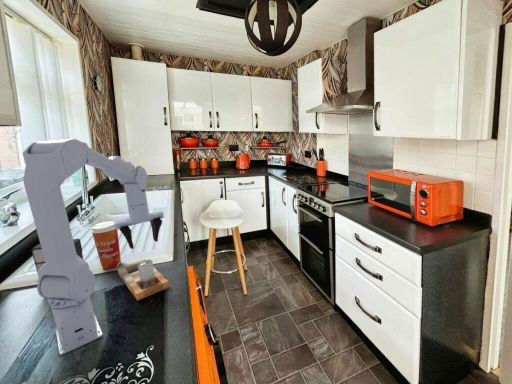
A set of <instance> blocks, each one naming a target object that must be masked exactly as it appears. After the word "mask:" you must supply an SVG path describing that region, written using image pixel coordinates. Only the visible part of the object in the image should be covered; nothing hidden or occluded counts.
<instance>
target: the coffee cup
mask: <svg viewBox="0 0 512 384" xmlns="http://www.w3.org/2000/svg"><path fill="white" fill-rule="evenodd" d="M114 222H115V221H110V220H109V221H103V222H98V223H96V224H94V225H93V226H92V227H91V230H90V233H91V234H92V237H93V242H94V244H95V247H96V251H97V255H98V258H99V262H100V266H101V268H102V267H103V268H104V269H103V268H102V269H103V270H110V269H114V268H117V267H118V266H117V265H118V264H119V263H120V262H121V260H122V259H121V251H120V250H121V249H120V240H119V233H118V231H119V230H117V229H115V225H114ZM121 263H122V262H121ZM116 266H117V267H116Z"/></svg>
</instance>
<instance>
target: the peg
mask: <svg viewBox="0 0 512 384" xmlns="http://www.w3.org/2000/svg"><path fill="white" fill-rule="evenodd" d="M143 260H144V259H143ZM140 261H141V260H140ZM153 267H154V261H153V260H151V259H146V260H144V261H141V262H139V263H138V269H137V271H139V276H140V282H141V287H140V288H141V289H144V288H146V287H149V286H151V285H154V284H156V281H155V275H154V268H155V267H154V268H153Z"/></svg>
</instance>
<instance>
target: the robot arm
mask: <svg viewBox="0 0 512 384" xmlns="http://www.w3.org/2000/svg"><path fill="white" fill-rule="evenodd" d="M22 155H23V156H22V157H23V160H24V163H25V168H24V175H23V180H22V181H23V186H24V189H25V193H26V197H27V200H28V204H29V207H30V210H31V214H32V219H33V222H34V226H35V230H36V233H37V236H38V241H39V244H41V248H42V251H43V255H44V258H45V262H46V263H45V264H44V265H43V266H42V267H41V268H40V269H39V270H38V271H37V270H36V273H37V277H38V278H37V279H38V281H37V286H36V290H37V291H36V292H37V294H38V295H39V296H40V297H41V298H43V299H46V300H47V303H48V304H50V307H51V308H50V309H51V312H52V315H53V320H54V324H55V327H56V330H55V333H56V334H55V335H56V341H57V346H58V353H59V355H60V356H62V355H65V354H67V353H68V352H69V353H70V352H71V351H73V350H75V349H77V348H80V347H82V346H84V345H86V344H88V343H91V342H92V341H95V340H97V339H99V338H101V337H102V336H103V331H102V329H101V327H100V324H99V322H98V320H97V316H96V315H95V313H94V307H93V303H92V298H91V295H92V294H93V291H94V289H95V287H96V276H95V273H93V271H92V270H91V269H90V267H89V266H90V265H89V263H88V262H87V261H85V259H84V258H83V259H84V260H83V259H82V258H80V257H79V256H78V255H77V254H76V250H75V245H74V241H73V239H74V238H73V233H72V230H71V226H70V222H69V218H68V217H69V216H68V214H67V210H66V204H65V201H64V197H63V194H62V190H61V189H62V188H61V186H62V185H63V183H64V182H65V181H66V179H68V178H70V177H72V175H74V174H75V173H77V172H78V171H79V170H80V169H83V168H84V166H85V165H88V166H89V167H93V168H97V169H99V170H102V173H103V174H104V175H105V176H106V177H109V178H111V179H115V180H118V182H119V183H120V184H121V185H122V186H123V187H124V191H125V192H124V193H125V197H126V199H125V200H126V203H127V209H128V215H129V217H128V218H124V219H122V220H117V221H113V222H114V225H115V229H117V231H120V232H121V234H123V237H124V238H125V240H126V241H127V244H128V246H129V249H131V250H133V249H135V247H134V242H133V237H132V229H131V228H130V227H131V226H134V225H135V226H136V225H139V224H143V223H147V222H149V223H150V227H151V231H152V239H153V241H154V242H155V243H156V242H159V233H160V229H161V226H162V225H163V220H162V219H164V218H165V217H164V212H163V211H157V212H156V211H155V212H150V211H149V206H148V205H149V204H148V199H147V192H146V189H147V180H148V172H147V171H146V169H145V168H144V167H143V166H142V165H133V164H132V162H130V161H126V160H124V159H122V157H121V156H119V155H114V156H109V157H107V156H106V155H104V154H102V153H101V152H99V151H97V150H95V149H93V148H91V147H89V145H88V143H86V142H84V141H81V140H79V139H77V138H69V139H59V140H35V141H33V142H31V144H29V145H28V146H27V147H26V149H24V150H23V152H22Z"/></svg>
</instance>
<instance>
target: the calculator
mask: <svg viewBox="0 0 512 384" xmlns="http://www.w3.org/2000/svg"><path fill="white" fill-rule="evenodd" d="M73 241H74V245H75V250H76V254H77V255H78V256H79V257H80V258H82V259H83V260H84V261H85V259H84V255H83V246H82V243H81V238H73ZM31 254H32V258H33V261H34V266H35V268H36V272H37V271H38V270H39V269H40V268H41V267H42V266H43V265H44V264H45V263H46V262H45V258H44V255H43V251H42V248H41V244H40V243H38V244H37V245H35V246H34V247H33V248H31Z"/></svg>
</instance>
